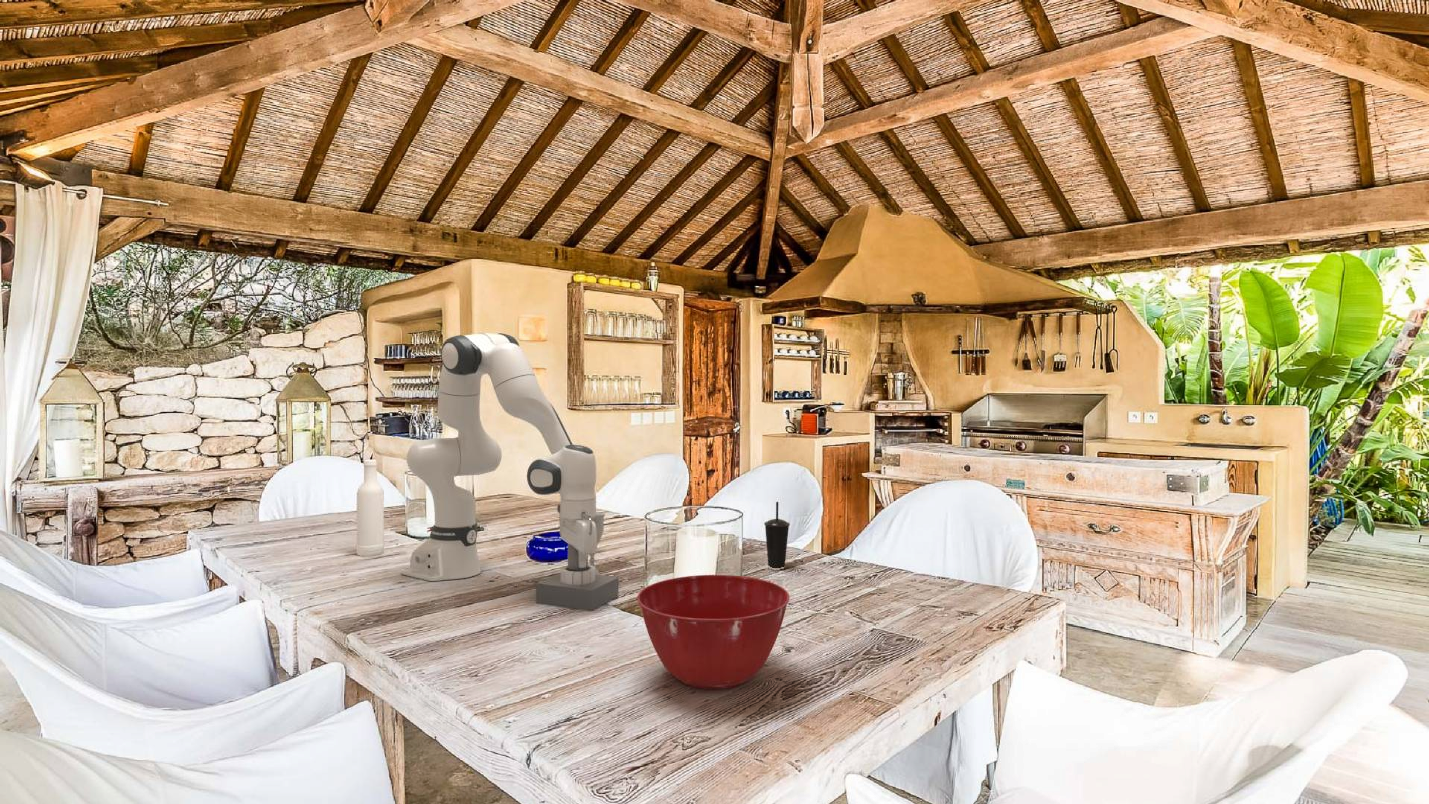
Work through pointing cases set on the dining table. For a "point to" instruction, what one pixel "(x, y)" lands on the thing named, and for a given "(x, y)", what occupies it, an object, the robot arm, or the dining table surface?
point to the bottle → (370, 513)
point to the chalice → (599, 528)
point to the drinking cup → (776, 541)
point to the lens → (574, 560)
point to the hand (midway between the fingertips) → (577, 564)
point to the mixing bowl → (713, 626)
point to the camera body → (577, 589)
